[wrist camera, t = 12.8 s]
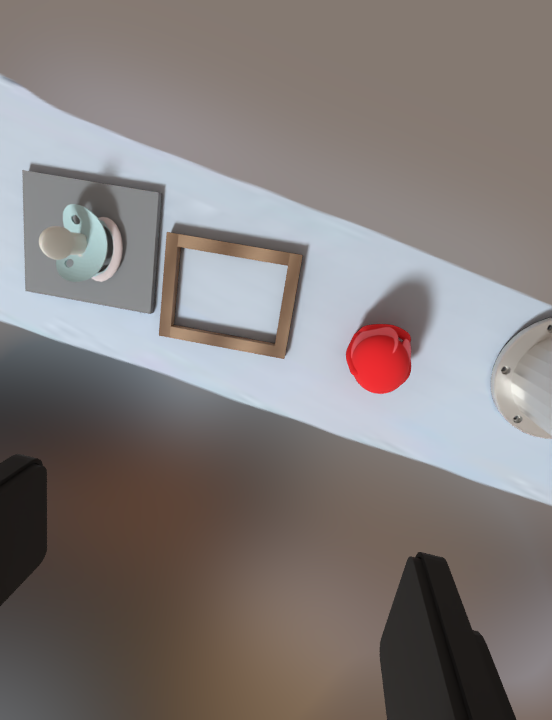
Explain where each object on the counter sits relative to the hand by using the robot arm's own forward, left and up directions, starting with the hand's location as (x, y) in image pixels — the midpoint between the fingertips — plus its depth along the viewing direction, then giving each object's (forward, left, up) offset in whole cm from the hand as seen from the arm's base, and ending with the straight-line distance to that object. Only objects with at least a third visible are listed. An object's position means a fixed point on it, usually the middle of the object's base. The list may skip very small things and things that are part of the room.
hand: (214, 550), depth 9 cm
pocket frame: (+7, -2, -32) cm, 32 cm away
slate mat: (+22, -5, -32) cm, 39 cm away
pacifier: (+21, -4, -31) cm, 38 cm away
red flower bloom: (-9, +1, -32) cm, 33 cm away
